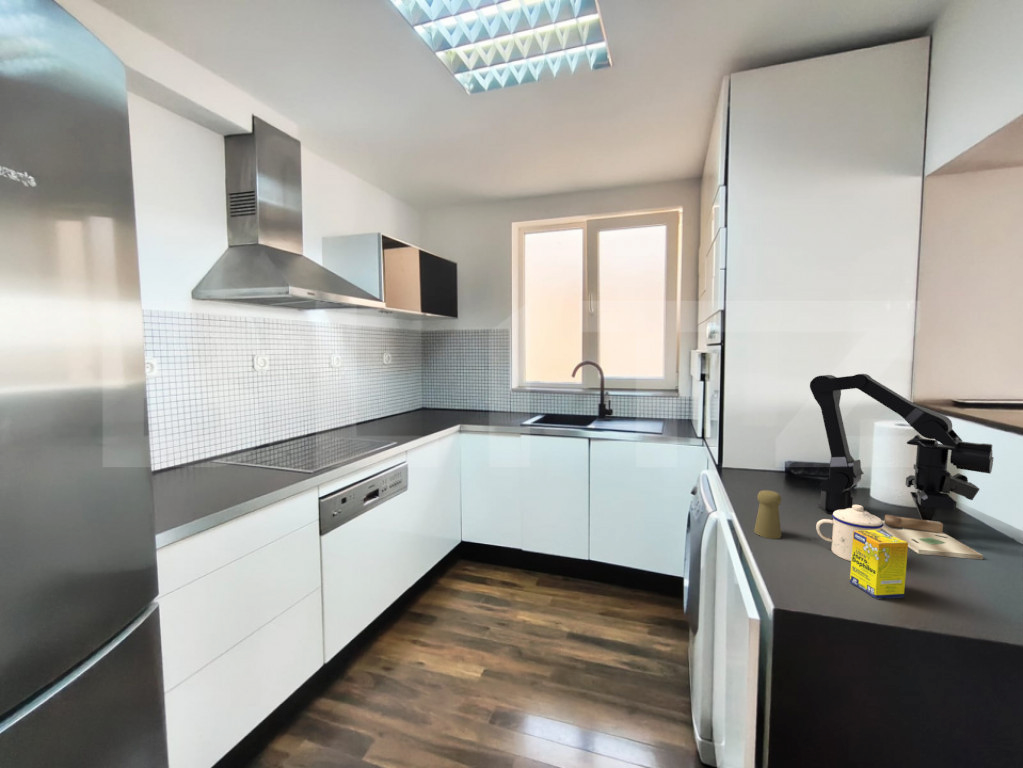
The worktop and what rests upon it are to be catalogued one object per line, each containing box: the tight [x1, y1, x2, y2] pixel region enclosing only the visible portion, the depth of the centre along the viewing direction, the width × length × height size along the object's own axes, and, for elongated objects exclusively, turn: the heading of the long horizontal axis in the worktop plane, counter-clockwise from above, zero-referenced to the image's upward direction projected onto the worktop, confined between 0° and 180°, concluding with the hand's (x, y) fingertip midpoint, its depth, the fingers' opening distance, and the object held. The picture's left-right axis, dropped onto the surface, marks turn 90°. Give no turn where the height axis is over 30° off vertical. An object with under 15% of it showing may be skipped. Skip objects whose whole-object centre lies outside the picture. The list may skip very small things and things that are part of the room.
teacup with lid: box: [815, 504, 883, 562], centre depth 101 cm, size 12×9×12 cm
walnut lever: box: [884, 514, 944, 533], centre depth 112 cm, size 11×3×2 cm, turn 65°
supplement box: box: [849, 530, 909, 600], centre depth 86 cm, size 6×6×11 cm
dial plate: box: [882, 520, 984, 560], centre depth 108 cm, size 12×18×1 cm, turn 166°
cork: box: [753, 489, 782, 540], centre depth 112 cm, size 6×6×11 cm
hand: (926, 524), depth 113 cm, fingers closed
